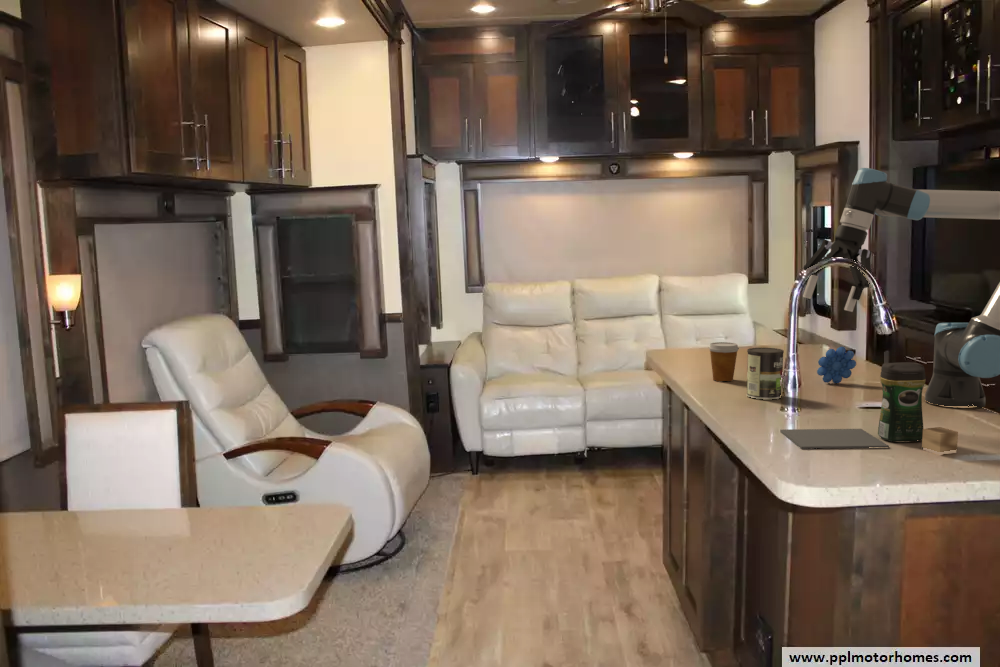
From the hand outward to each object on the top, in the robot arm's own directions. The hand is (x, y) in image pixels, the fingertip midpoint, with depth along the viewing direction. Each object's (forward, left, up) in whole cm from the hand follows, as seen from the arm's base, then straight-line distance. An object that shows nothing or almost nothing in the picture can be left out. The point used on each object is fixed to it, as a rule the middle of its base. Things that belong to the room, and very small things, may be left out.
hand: (826, 304), depth 229 cm
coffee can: (+10, -21, -30) cm, 38 cm away
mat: (+8, +29, -30) cm, 42 cm away
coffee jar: (-8, +29, -30) cm, 42 cm away
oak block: (-12, +40, -30) cm, 51 cm away
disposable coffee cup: (+16, -47, -30) cm, 58 cm away
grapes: (-18, -40, -30) cm, 53 cm away
